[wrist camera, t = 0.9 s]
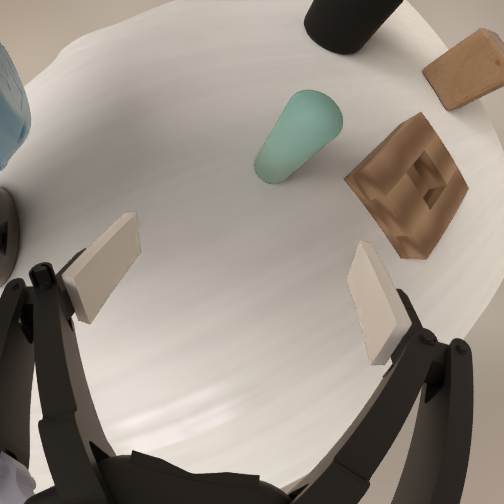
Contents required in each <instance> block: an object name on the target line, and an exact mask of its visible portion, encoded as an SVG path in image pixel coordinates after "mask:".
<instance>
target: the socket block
mask: <svg viewBox="0 0 504 504" xmlns="http://www.w3.org/2000/svg"><path fill="white" fill-rule="evenodd" d="M344 180H345V181H346V182H347V184H348V185H349V186H350V187H351V189H352V190H353V191H354V193H355V194H356V195H357V196H358V198H359V199H360V200H361V202H362V203H363V204H364V206H365V207H366V208H367V210H368V211H369V212H370V214H371V215H372V217H373V218H374V219H375V221H376V222H377V224H378V225H379V226H380V228H381V229H382V231H383V232H384V234H385V235H386V236H387V238H388V239H389V241H390V242H391V244H392V245H393V247H394V248H395V250H396V251H397V253H398V255H399V256H400V258H406V259H427V258H428V257H429V255H430V254H431V252H432V251H433V249H434V248H435V246H436V245H437V243H438V241H439V240H440V238H441V237H442V235H443V234H444V232H445V230H446V229H447V227H448V225H449V224H450V222H451V220H452V218H453V217H454V215H455V213H456V212H457V210H458V208H459V206H460V204H461V202H462V201H463V199H464V197H465V195H466V193H467V191H468V189H469V188H468V186H467V184H466V182H465V180H464V178H463V176H462V174H461V173H460V171H459V169H458V167H457V166H456V164H455V162H454V160H453V159H452V157H451V155H450V154H449V152H448V150H447V149H446V147H445V146H444V144H443V143H442V141H441V139H440V138H439V136H438V135H437V133H436V132H435V130H434V129H433V128H432V126H431V125H430V123H429V122H428V121H427V119H426V118H425V116H424V115H423V114H422V112H420V113H418V114H417V115H415V116H413V117H412V118H410V119H408V120H407V121H405V122H403V123H402V124H400V125H399V126H398V127H397V128H396V129H395V130H394V131H393V132H392V133H391V134H390V135H389V136H388V137H387V138H386V139H385V140H384V141H383V142H382V143H381V144H380V145H378V146H377V147H376V148H375V149H374V150H373V151H372V152H371V153H370V154H369V155H368V156H367V157H366V158H365V159H364V160H363V161H362V162H361V163H360V164H359V165H358V166H357V167H356V168H355V169H354V170H353V171H352V172H351V173H349V174H348V175H347V176H346V177H345V178H344Z"/></svg>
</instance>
